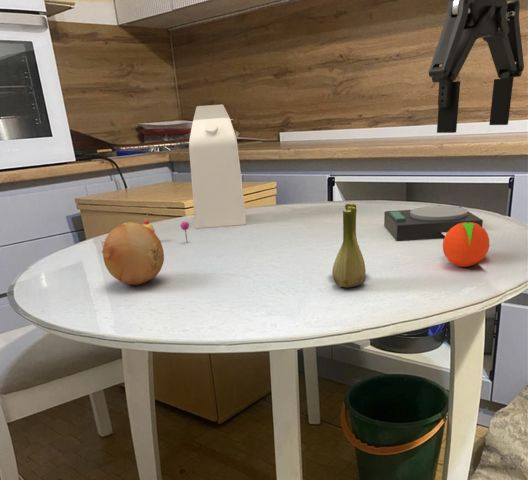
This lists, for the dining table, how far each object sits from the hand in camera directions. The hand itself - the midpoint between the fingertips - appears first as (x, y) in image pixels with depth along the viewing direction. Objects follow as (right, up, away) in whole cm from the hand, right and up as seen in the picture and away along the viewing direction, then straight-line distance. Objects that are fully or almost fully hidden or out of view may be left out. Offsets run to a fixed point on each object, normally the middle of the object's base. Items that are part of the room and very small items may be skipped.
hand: (473, 128), depth 80 cm
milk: (-42, -2, +51) cm, 66 cm away
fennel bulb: (-19, -24, +1) cm, 30 cm away
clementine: (0, -20, +5) cm, 21 cm away
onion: (-52, -22, +9) cm, 58 cm away
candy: (-57, -11, +34) cm, 67 cm away
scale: (+2, -9, +28) cm, 30 cm away
